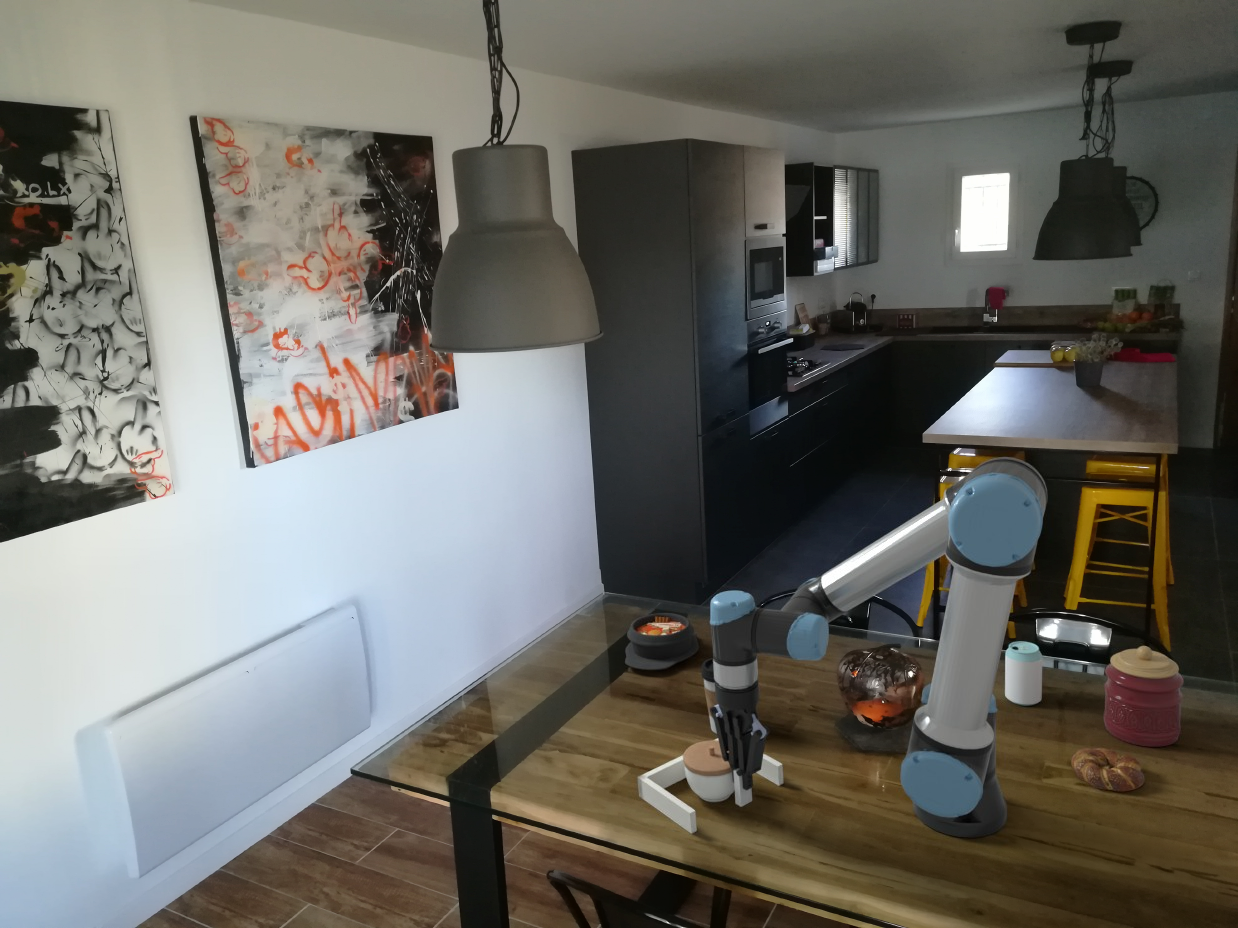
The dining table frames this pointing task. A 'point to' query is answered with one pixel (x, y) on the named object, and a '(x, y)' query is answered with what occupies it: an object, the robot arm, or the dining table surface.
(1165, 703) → the canister
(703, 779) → the lidded jar
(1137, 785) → the pretzel
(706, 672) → the coffee cup
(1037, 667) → the can
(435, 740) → the dining table surface
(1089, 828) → the dining table surface
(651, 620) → the casserole
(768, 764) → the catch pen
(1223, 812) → the dining table surface
